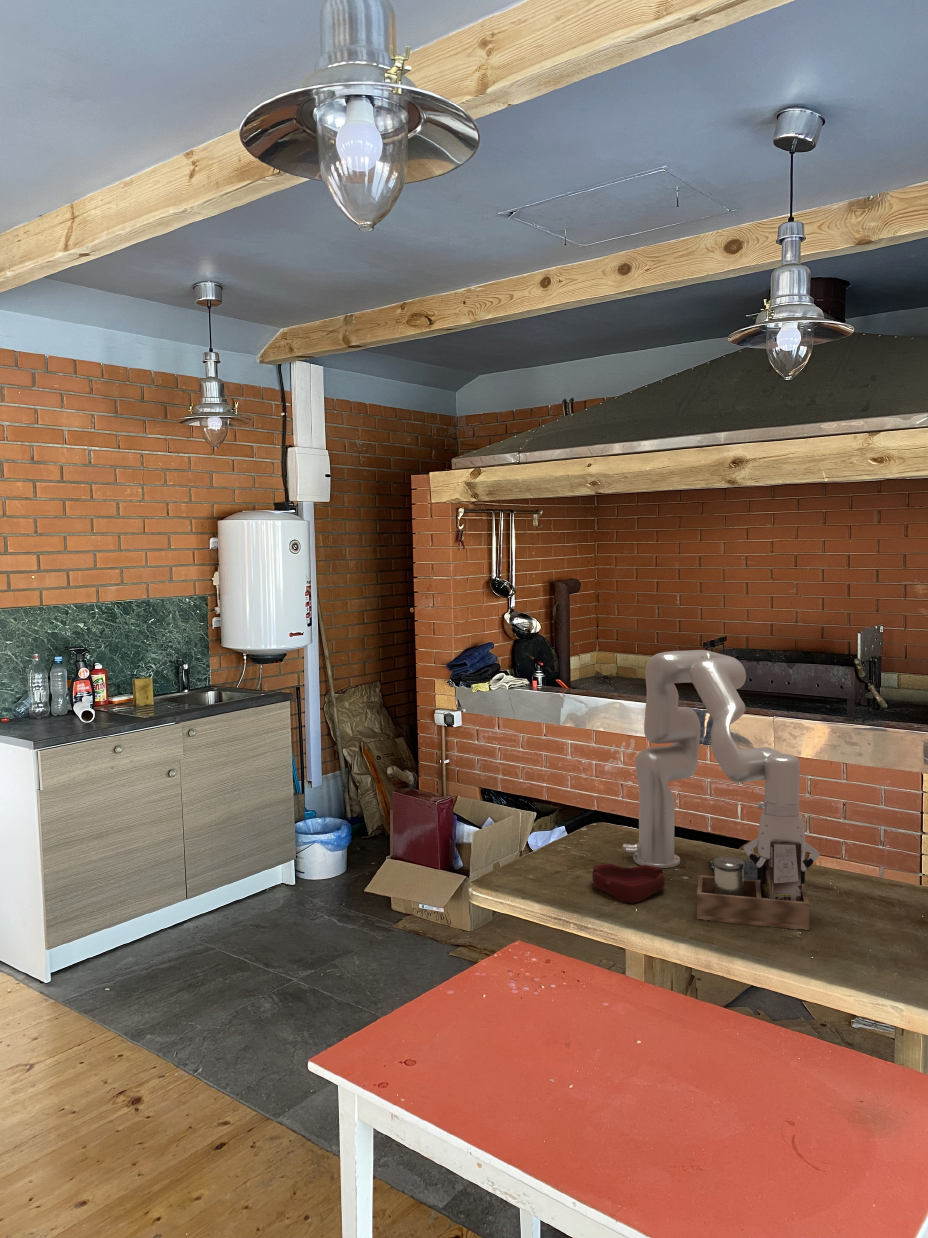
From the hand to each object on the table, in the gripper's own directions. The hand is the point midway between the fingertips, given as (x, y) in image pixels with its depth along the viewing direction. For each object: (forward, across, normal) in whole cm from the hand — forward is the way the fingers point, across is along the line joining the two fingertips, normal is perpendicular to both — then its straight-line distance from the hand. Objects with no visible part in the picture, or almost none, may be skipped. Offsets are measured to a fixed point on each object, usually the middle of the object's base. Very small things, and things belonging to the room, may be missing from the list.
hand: (780, 884), depth 202 cm
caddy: (+8, -6, 0) cm, 10 cm away
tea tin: (+8, -11, 0) cm, 14 cm away
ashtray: (+8, -35, +6) cm, 36 cm away
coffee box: (+6, 0, 0) cm, 6 cm away
